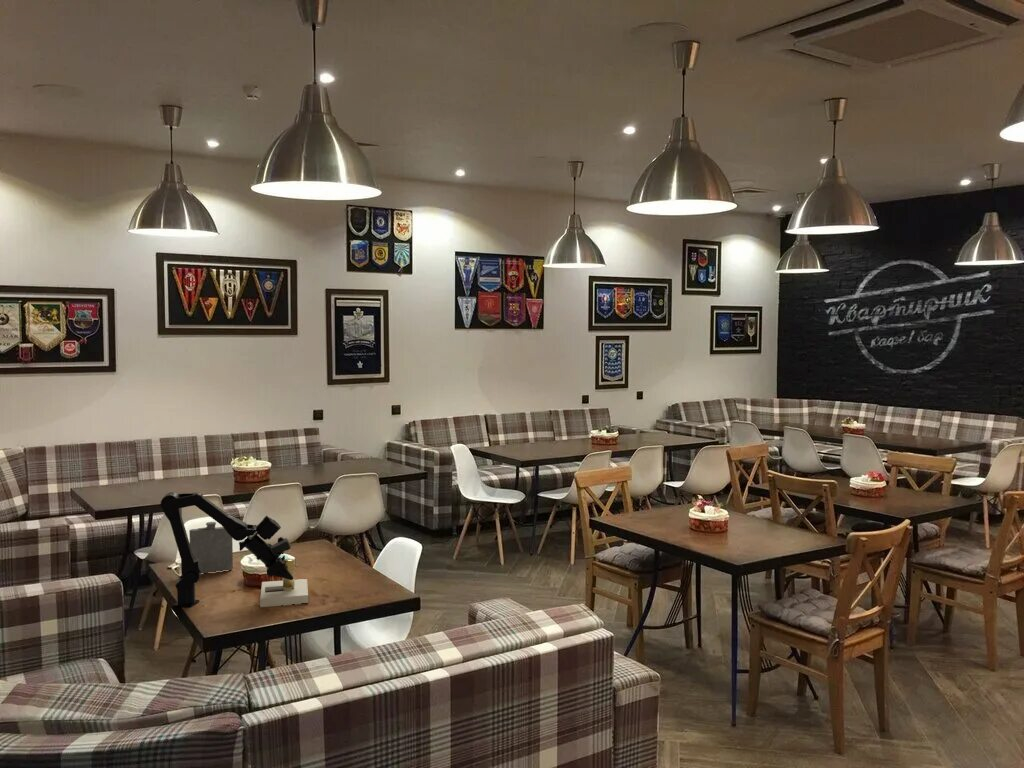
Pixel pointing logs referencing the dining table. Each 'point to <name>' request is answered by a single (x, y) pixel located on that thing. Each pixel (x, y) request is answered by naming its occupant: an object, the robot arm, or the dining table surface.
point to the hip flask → (212, 547)
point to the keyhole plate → (283, 593)
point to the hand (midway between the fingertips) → (292, 577)
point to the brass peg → (290, 567)
